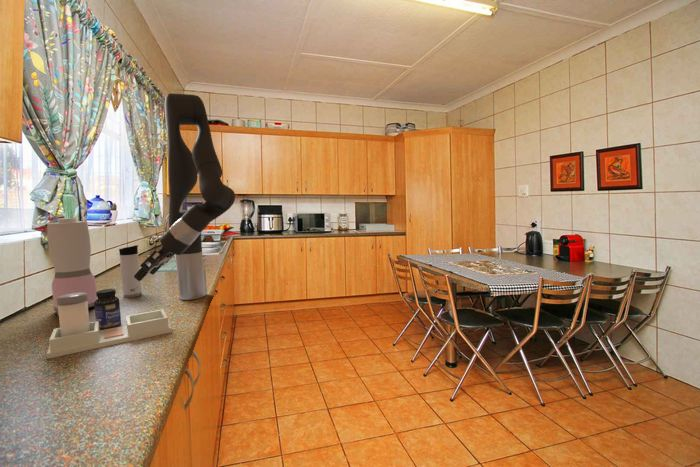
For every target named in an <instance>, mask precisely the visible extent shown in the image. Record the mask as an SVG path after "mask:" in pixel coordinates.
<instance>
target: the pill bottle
mask: <svg viewBox="0 0 700 467" xmlns="http://www.w3.org/2000/svg"><path fill="white" fill-rule="evenodd" d="M116 291H117V290H116V289H115V288H105V289H100V290H97V292H96V296H97V300H96V301H95V302H94V306H93V307H94V313H95V316H94V317H95V321H99V329H100V330H105V329H111V328H116V327H121V325H122V316H121V306H120V298H119V297H118V296H116Z"/></svg>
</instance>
